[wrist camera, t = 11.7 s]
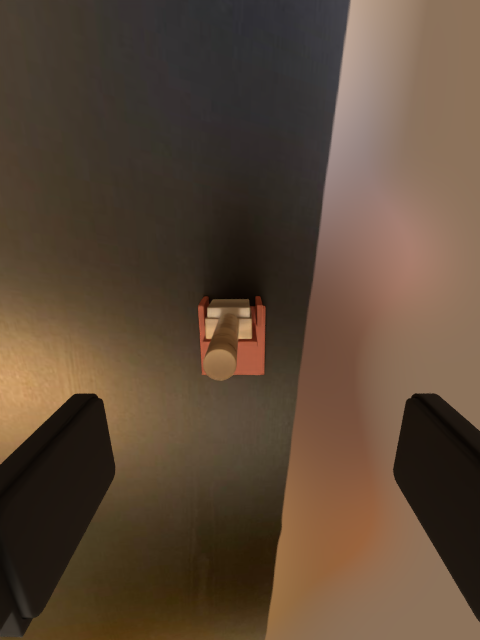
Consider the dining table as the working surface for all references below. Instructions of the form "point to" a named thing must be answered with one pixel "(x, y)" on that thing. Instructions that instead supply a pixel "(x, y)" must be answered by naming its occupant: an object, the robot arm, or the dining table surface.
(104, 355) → the dining table surface
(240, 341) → the brush stand
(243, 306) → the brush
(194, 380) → the dining table surface
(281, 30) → the dining table surface
